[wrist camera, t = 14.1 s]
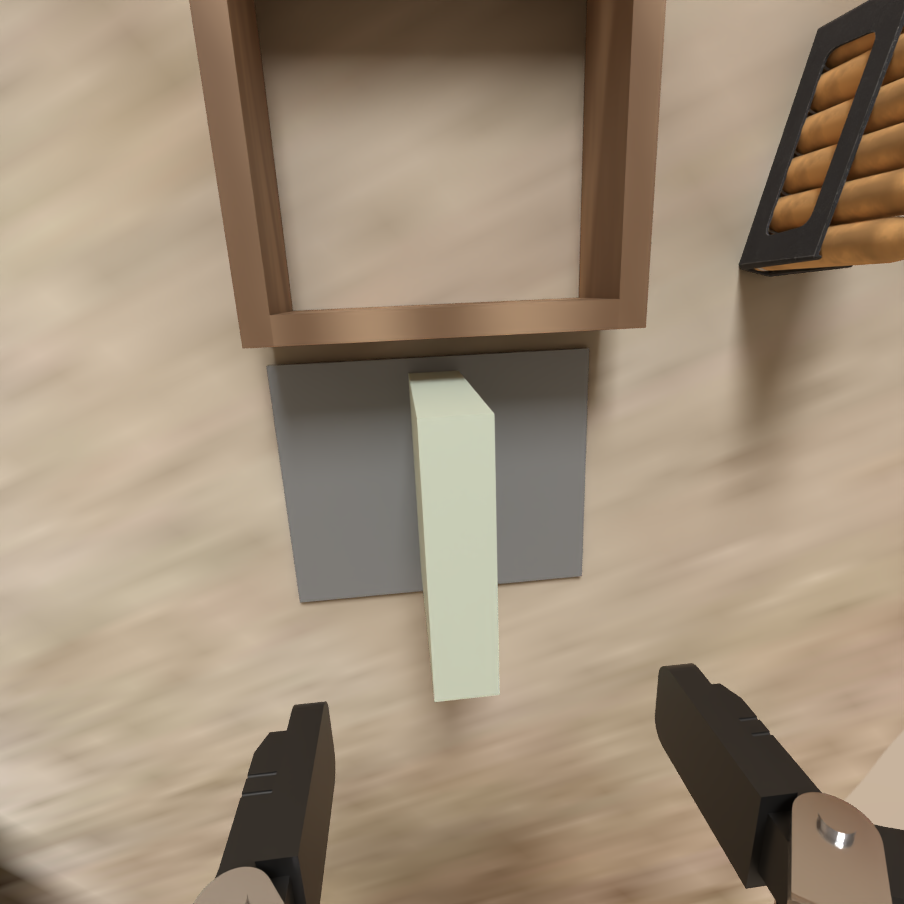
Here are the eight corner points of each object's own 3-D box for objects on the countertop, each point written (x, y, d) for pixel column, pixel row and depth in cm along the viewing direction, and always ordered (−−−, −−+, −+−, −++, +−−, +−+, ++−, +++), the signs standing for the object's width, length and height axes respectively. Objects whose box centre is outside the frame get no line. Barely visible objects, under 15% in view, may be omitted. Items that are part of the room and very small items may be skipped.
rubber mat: (586, 348, 27) (589, 348, 27) (579, 573, 31) (581, 575, 31) (267, 365, 26) (266, 366, 26) (300, 599, 30) (299, 602, 30)
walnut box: (616, -82, 22) (677, -183, 18) (601, 321, 27) (645, 327, 22) (211, -90, 21) (158, -202, 16) (270, 338, 26) (242, 348, 21)
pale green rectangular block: (458, 370, 27) (494, 413, 17) (465, 566, 30) (499, 694, 20) (408, 373, 27) (416, 419, 17) (421, 570, 30) (434, 702, 20)
